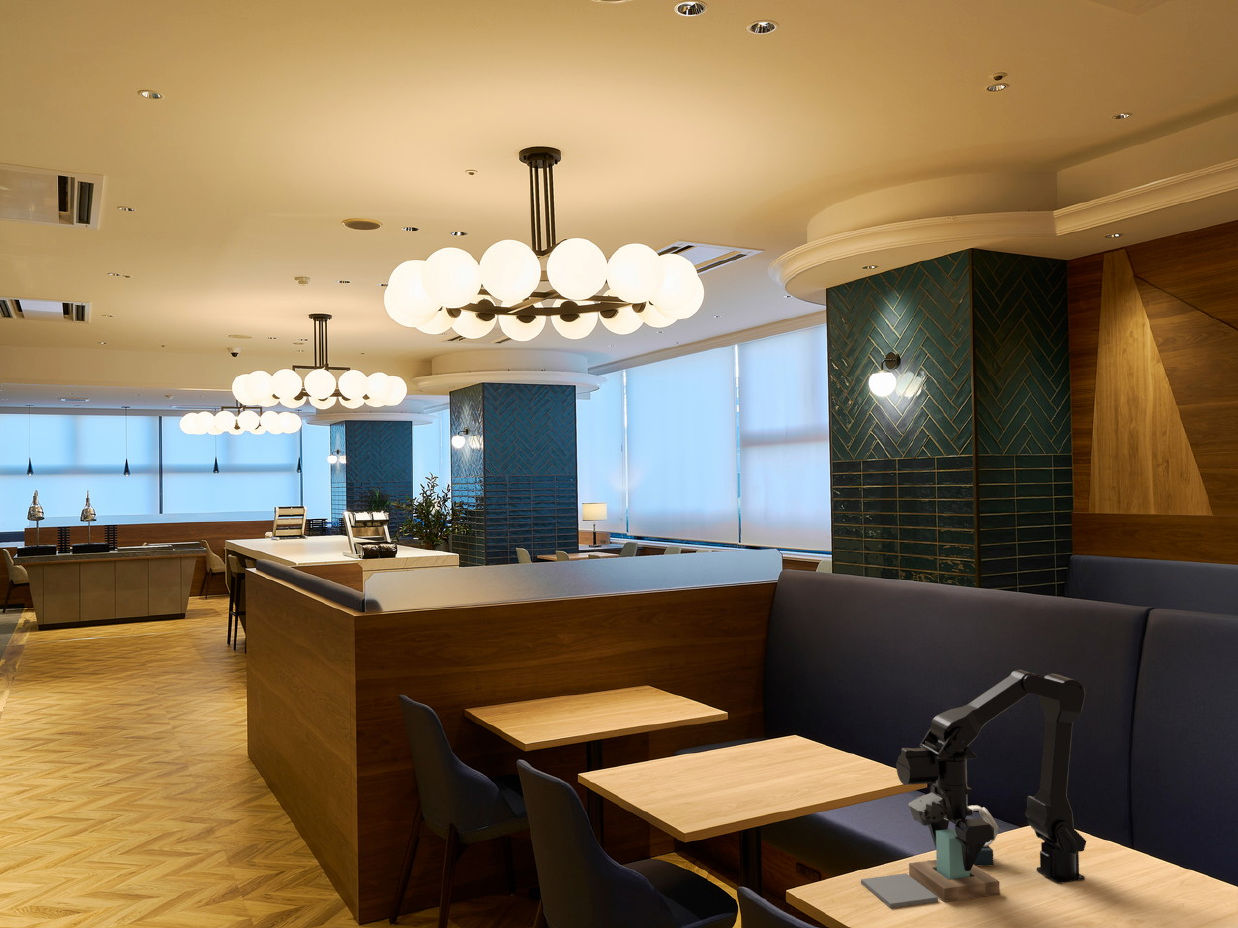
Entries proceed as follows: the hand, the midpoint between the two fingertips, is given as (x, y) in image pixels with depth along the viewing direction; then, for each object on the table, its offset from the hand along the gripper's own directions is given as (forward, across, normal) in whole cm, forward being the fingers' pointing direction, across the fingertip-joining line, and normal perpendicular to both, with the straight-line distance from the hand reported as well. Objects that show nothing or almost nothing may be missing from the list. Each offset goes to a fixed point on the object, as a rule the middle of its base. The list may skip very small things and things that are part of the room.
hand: (953, 860), depth 180 cm
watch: (+5, -9, +12) cm, 16 cm away
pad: (+5, 0, -12) cm, 13 cm away
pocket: (+5, 0, 0) cm, 5 cm away
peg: (+5, 0, 0) cm, 5 cm away
